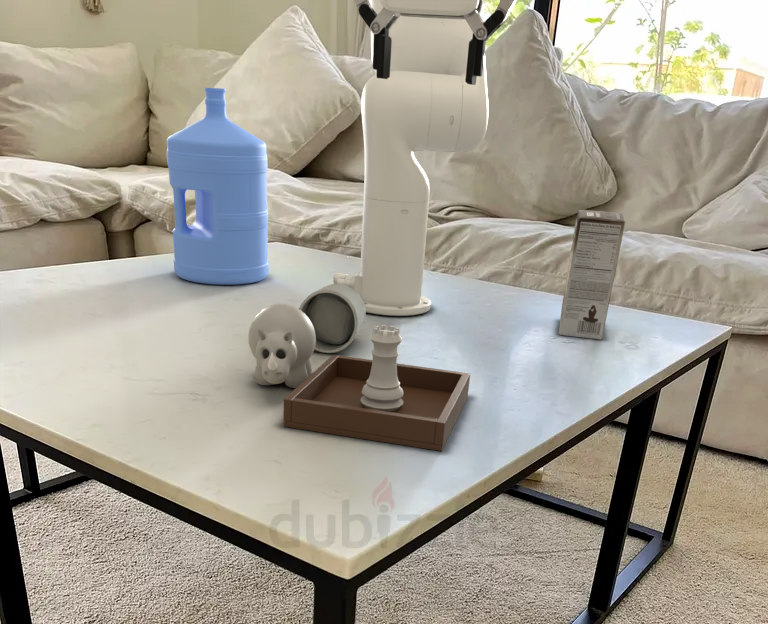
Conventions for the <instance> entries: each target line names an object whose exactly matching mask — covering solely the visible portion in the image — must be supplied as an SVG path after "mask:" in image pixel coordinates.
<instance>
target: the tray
mask: <svg viewBox="0 0 768 624" xmlns="http://www.w3.org/2000/svg"><path fill="white" fill-rule="evenodd" d="M372 361H373V359H367V358H361V357H353V356H346V355H337V354H332V355H331V356H330V357H329V358H328V359H327V360H325V361H324V363H322V364H320V366H319V367H318V368H317V369H315V370H314V371H313V372H311V374H310V375H309V376H308V378H307V379H306V380H305V381H303V382H302V383H301V384H300V385H299V386H298V387H297V388H294V389H293V390H291V392H290V393H288V395H287V396H285V398H283V427H286V428H292V429H299V430H305V431H310V432H317V433H323V434H324V433H325V434H330V435H336V436H342V437H348V438H355V439H362V440H369V441H375V442H380V443H381V442H382V443H387V444H394V445H401V446H406V447H411V448H412V447H413V448H420V449H425V450H433V451H438V452H439V451H440V452H442V451H443V450H444V447H445V446H446V443H447V441H448V440H449V437H450V435H451V433H452V431H453V429H454V427H455V424H456V422H457V421H458V418H459V416H460V414H461V412H462V410H463V408H464V406H465V404H466V401H467V399H468V397H469V389H470V379H471V373H470V372H463V371H454V370H450V369H449V370H448V369H441V368H435V367H426V366H418V365H412V364H405V363H397V362H396V364H397V377H398V381H399V382H400V385H399V386H400V387H401V388H402V389H403V393H404V394H403V397H402V398H401V399H402V400H403V401H404V402H403V405H402V406H401V407H400V408H399V409H398V410H396V411H392V412H385V411H379V410H372V409H367V408H365V407H364V405H363V404H362V402H361V401H360V400H361V397H363V396H364V395H363V394H362V389H363V387H364V385H365V384H366V381H367V380H368V379H369V376H370V372H371V367H372Z"/></svg>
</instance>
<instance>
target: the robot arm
mask: <svg viewBox="0 0 768 624" xmlns="http://www.w3.org/2000/svg"><path fill="white" fill-rule="evenodd" d="M516 2H517V0H499V3H498V4H497V7H496V9H495V11H493V12H492V14H490V16H489V17H487V19H486V20H485V21H484V20H483V18H482V17H481V15H480V13H481V11H482V8H483V3H484V0H354V3H355V6H356V7H357V10H358V14H359V16H360V18H361V19H362V20H363V21H364V23H365V24H366V25H367V27H368V28H369V29H370V54H371V63H372V64H371V65H372V69H373V71H374V75H373V76H371V77H370V78H369V79H368V80H367V82H366V83H365V84H364V87H363V89H362V93H361V101H360V109H361V110H360V111H361V112H360V113H361V123H362V134H363V135H362V136H363V149H364V153H363V154H364V172H363V173H364V175H363V176H364V177H363V178H364V179H363V180H364V182H363V201H362V203H363V205H362V221H361V222H362V225H361V244H360V245H361V247H360V248H361V249H360V269H359V272H358V273H357V272H356V273H354V274H352V275H351V274H347V273H340V272H335V273H334V275H333V284H342V285H346V286H348V287H351V288H352V289H354V290H355V291H356V292H357V293H358V294H359V295H360V296H361V298H362V300H363V302H364V305H365V310H366V313H368V314H373V315H379V316H380V315H381V316H393V317H395V316H396V317H402V316H403V317H404V316H405V317H408V316H418V315H421V314H425V313H428V312H429V311H430V310H431V305H432V302H431V300H430V299H429V298H427V297H426V296H424V295H422V291H423V280H424V267H425V257H426V255H425V254H426V245H427V231H428V220H429V219H428V218H429V209H430V208H429V207H430V193H431V188H430V187H431V186H430V181H429V178H428V175H427V174H426V172H425V170H424V169H423V167H422V165H420V163H419V162H418V160H417V158H416V157H415V152H424V151H428V152H442V153H470V152H472V151H474V150H476V149H477V148H479V146H481V145H482V143H483V141H484V139H485V136H486V133H487V129H488V125H489V123H488V122H489V96H488V93H489V92H488V82H487V81H488V80H487V67H486V66H487V65H486V54H485V53H486V43H487V41H489V39H490V38H491V37H492V36H493V35H494V34H495V33H496V32H497V31H498V30H499V29H500V28H501V27H502V26H503V25H504V23H506V20H507V18H508V16H509V15H510V13H511V11H512V9H513V8H514V6H515V4H516Z"/></svg>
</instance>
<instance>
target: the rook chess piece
mask: <svg viewBox="0 0 768 624" xmlns="http://www.w3.org/2000/svg"><path fill="white" fill-rule="evenodd" d="M386 328H387V326H386V324H380V326H379V325H375V326H374V327H373V332H372V333H371V334H370V336H369V339H370V341H371V342H372V344H373V349H371V351H370V354H371V355H372V360H373V361H372V367H371V372H370V376H369V379H368V380H367V381H366V384H365V385H364V387H363V389H362V394H363V395H364V396H363V397H361V400H360V401H361V402H362V404H363V405H364V407H365V408H367V409H372V410H379V411H385V412H392V411H396V410H398V409H399V408H400V407H401V406H402V405H403V402H404V401H403V400H402V399H401V398H402V397H403V394H404V393H403V389H402V388H401V387H400V386H399V385H400V382H399V381H398V377H397V364H396V363H397V361H398V356H400V353H399V351H398V346H399V345H400V343H402V341H403V337H402V336H401V334H400V327H396V326H395V325H389V329H386Z"/></svg>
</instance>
